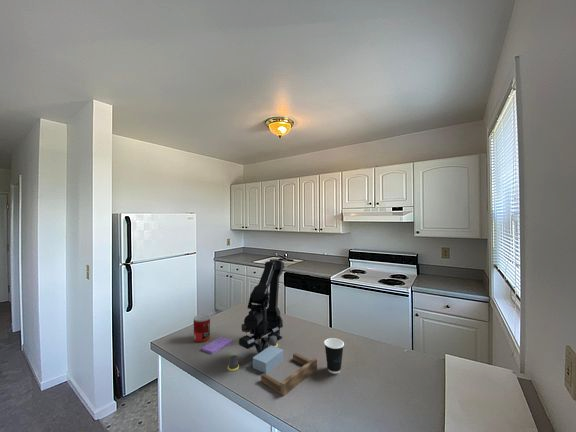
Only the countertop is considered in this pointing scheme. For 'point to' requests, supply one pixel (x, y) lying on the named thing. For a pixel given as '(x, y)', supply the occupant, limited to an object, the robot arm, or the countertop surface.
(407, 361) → the countertop surface
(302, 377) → the bay
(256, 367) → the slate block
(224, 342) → the sponges
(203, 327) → the canned food
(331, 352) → the dixie cup
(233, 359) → the bollards
